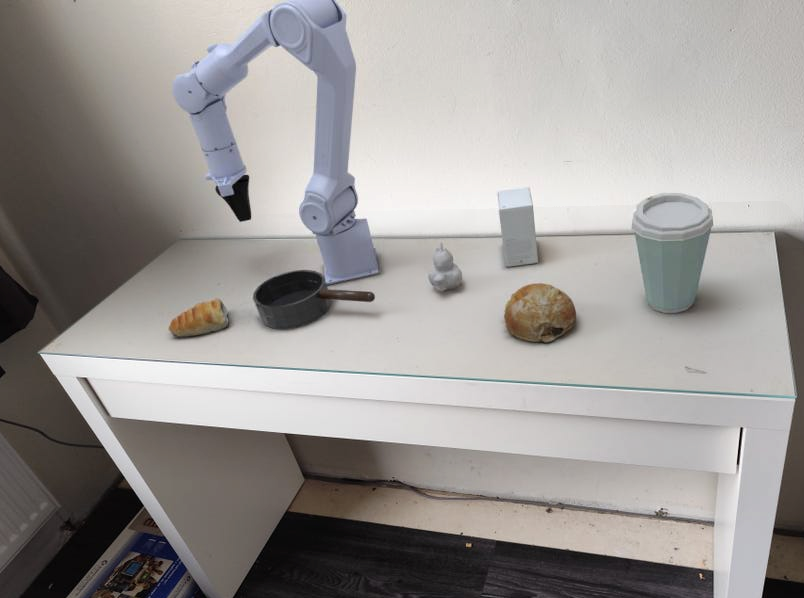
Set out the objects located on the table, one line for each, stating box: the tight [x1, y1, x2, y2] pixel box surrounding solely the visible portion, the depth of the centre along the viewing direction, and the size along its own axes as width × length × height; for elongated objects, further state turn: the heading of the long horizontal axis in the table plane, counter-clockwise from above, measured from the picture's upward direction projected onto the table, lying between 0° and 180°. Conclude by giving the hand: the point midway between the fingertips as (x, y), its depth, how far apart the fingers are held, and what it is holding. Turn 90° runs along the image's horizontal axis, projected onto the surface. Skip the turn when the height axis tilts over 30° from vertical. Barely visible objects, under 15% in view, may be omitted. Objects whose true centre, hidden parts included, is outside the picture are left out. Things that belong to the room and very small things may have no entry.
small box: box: [496, 186, 539, 268], centre depth 112 cm, size 8×6×10 cm
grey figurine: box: [427, 242, 463, 291], centre depth 107 cm, size 5×7×8 cm
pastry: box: [168, 297, 229, 338], centre depth 110 cm, size 9×7×4 cm
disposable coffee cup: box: [630, 192, 714, 314], centre depth 93 cm, size 11×11×15 cm
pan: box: [252, 269, 332, 330], centre depth 110 cm, size 12×12×4 cm
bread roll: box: [503, 282, 577, 344], centre depth 96 cm, size 10×10×8 cm
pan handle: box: [319, 288, 376, 303], centre depth 106 cm, size 10×2×2 cm, turn 71°
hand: (245, 219), depth 121 cm, fingers closed
